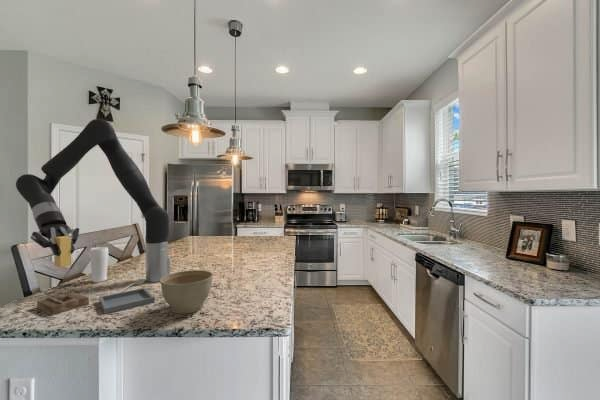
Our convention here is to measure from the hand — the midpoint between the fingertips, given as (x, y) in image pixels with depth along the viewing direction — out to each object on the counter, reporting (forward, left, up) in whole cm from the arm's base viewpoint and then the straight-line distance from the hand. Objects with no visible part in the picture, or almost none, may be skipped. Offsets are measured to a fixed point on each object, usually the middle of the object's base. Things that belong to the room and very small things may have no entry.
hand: (65, 253), depth 94 cm
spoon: (-19, -8, -19) cm, 28 cm away
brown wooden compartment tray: (+1, -2, -19) cm, 19 cm away
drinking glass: (-12, -30, -19) cm, 37 cm away
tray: (-16, +9, -19) cm, 26 cm away
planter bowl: (-30, +30, -19) cm, 47 cm away
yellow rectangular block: (+1, -2, -4) cm, 5 cm away
